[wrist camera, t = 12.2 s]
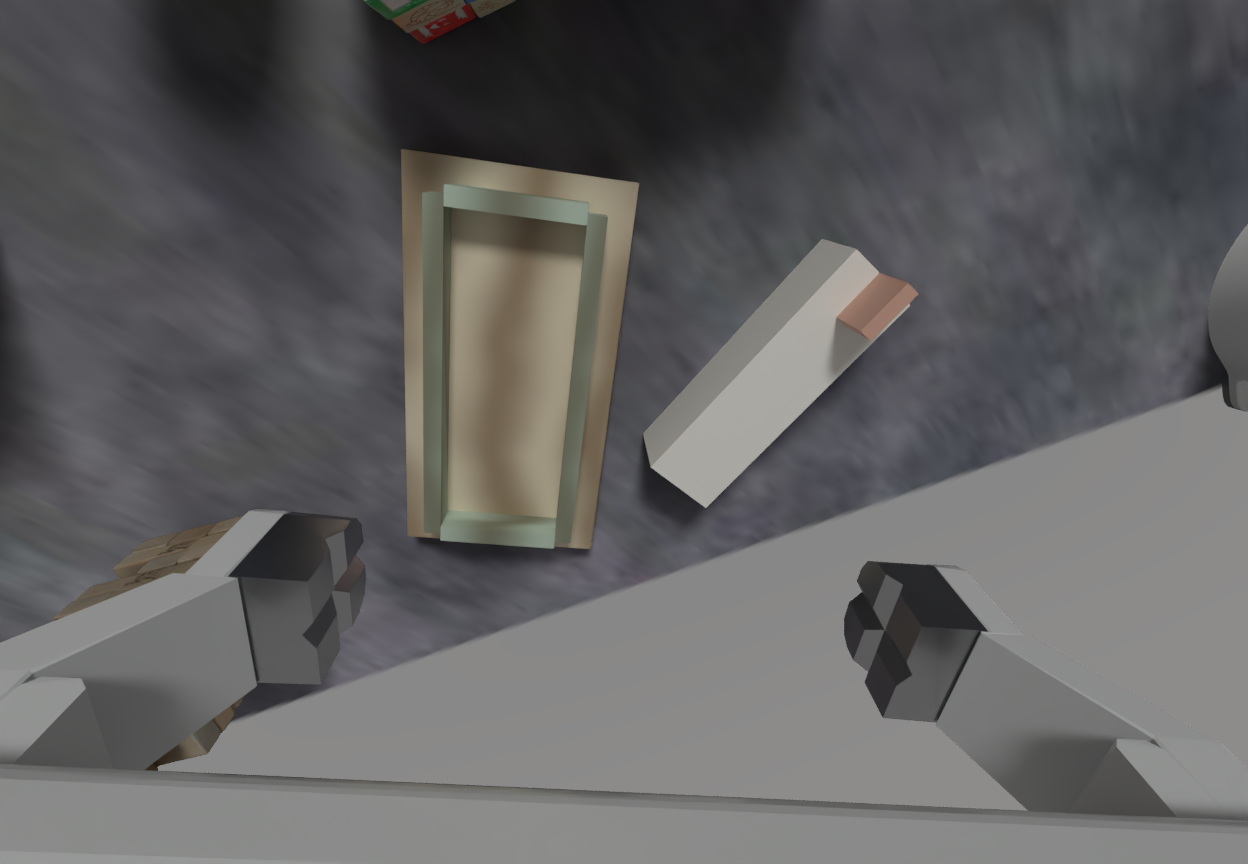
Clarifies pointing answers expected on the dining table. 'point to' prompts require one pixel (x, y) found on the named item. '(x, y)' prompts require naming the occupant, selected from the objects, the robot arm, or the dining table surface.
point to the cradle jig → (509, 346)
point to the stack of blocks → (433, 14)
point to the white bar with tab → (773, 369)
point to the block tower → (151, 565)
